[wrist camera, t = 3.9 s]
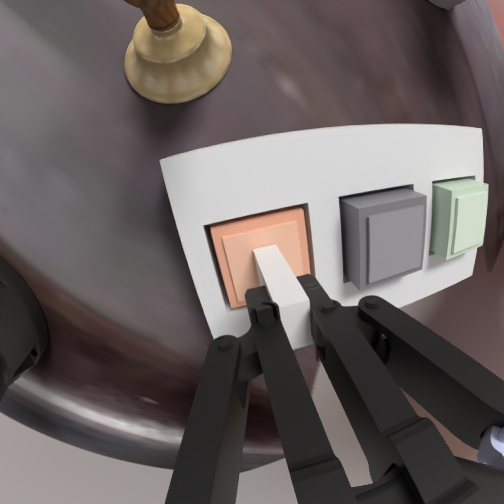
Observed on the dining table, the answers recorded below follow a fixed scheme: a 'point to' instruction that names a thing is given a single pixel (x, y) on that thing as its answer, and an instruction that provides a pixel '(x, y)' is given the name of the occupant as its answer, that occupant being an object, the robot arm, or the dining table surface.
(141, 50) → the hand bell
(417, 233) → the charcoal key
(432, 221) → the sage key
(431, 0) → the coffeepot
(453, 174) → the white button panel
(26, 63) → the dining table surface
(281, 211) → the terracotta key
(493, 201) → the dining table surface
